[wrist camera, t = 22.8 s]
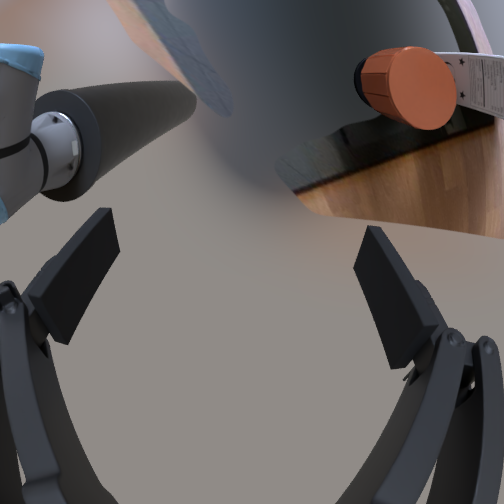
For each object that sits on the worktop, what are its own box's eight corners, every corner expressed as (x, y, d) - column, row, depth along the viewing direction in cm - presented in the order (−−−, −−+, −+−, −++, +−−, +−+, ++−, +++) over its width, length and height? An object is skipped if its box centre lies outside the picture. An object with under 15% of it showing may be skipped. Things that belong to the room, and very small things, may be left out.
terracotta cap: (365, 118, 30) (392, 129, 24) (356, 48, 25) (383, 41, 18) (424, 119, 29) (457, 131, 23) (418, 54, 24) (452, 54, 17)
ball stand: (357, 110, 34) (373, 116, 29) (349, 54, 29) (365, 51, 24) (407, 110, 33) (428, 117, 28) (402, 58, 28) (423, 57, 23)
